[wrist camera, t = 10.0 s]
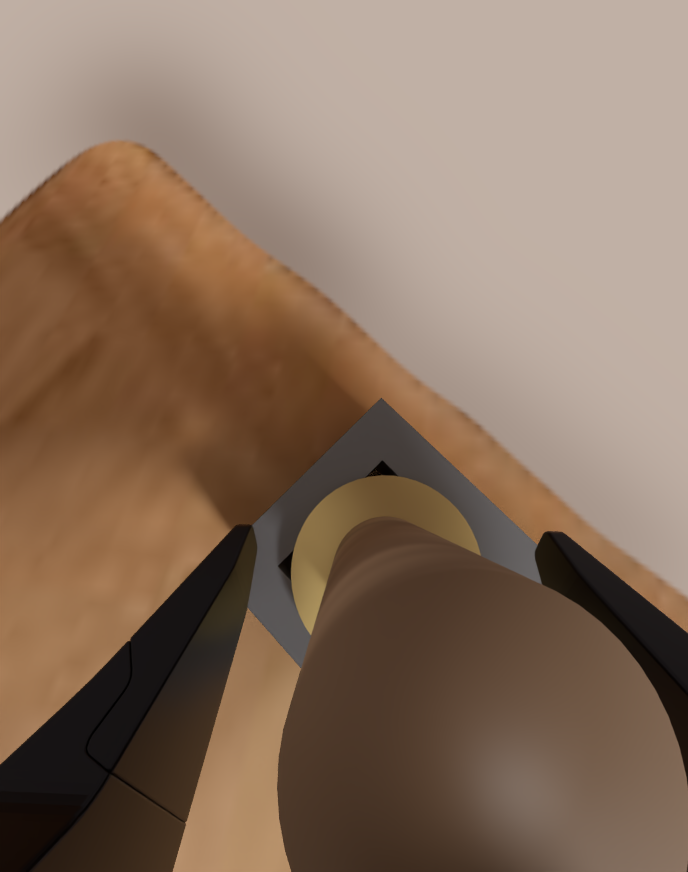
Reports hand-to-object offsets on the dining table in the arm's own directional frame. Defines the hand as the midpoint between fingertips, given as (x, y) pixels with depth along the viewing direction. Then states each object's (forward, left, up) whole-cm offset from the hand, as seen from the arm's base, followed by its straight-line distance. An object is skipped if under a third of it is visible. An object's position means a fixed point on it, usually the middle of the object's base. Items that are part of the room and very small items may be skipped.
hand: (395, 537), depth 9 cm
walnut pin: (-1, -1, -7) cm, 7 cm away
